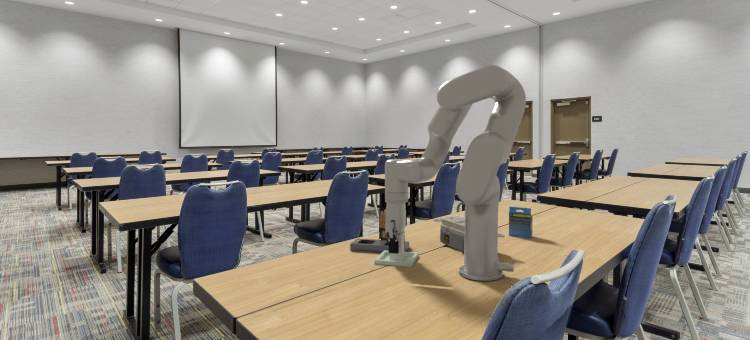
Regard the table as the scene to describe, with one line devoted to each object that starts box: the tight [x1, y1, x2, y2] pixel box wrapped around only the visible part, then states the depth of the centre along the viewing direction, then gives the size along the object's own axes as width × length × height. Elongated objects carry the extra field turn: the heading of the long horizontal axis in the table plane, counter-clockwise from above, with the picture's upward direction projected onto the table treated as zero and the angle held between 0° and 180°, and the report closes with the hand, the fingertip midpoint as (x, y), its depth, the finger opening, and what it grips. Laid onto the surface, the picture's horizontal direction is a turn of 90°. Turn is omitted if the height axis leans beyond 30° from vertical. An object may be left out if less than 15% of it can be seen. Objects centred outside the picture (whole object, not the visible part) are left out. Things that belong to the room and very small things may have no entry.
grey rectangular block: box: [390, 230, 405, 261], centre depth 134 cm, size 4×4×10 cm
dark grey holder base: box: [349, 232, 410, 254], centre depth 151 cm, size 20×15×9 cm
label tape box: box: [508, 206, 533, 239], centre depth 167 cm, size 9×4×12 cm, turn 58°
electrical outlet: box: [432, 215, 506, 252], centre depth 149 cm, size 12×28×10 cm, turn 33°
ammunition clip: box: [378, 210, 386, 240], centre depth 161 cm, size 11×2×12 cm, turn 40°
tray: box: [373, 250, 419, 268], centre depth 134 cm, size 12×12×2 cm
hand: (396, 249), depth 134 cm, fingers open, 8 cm apart
